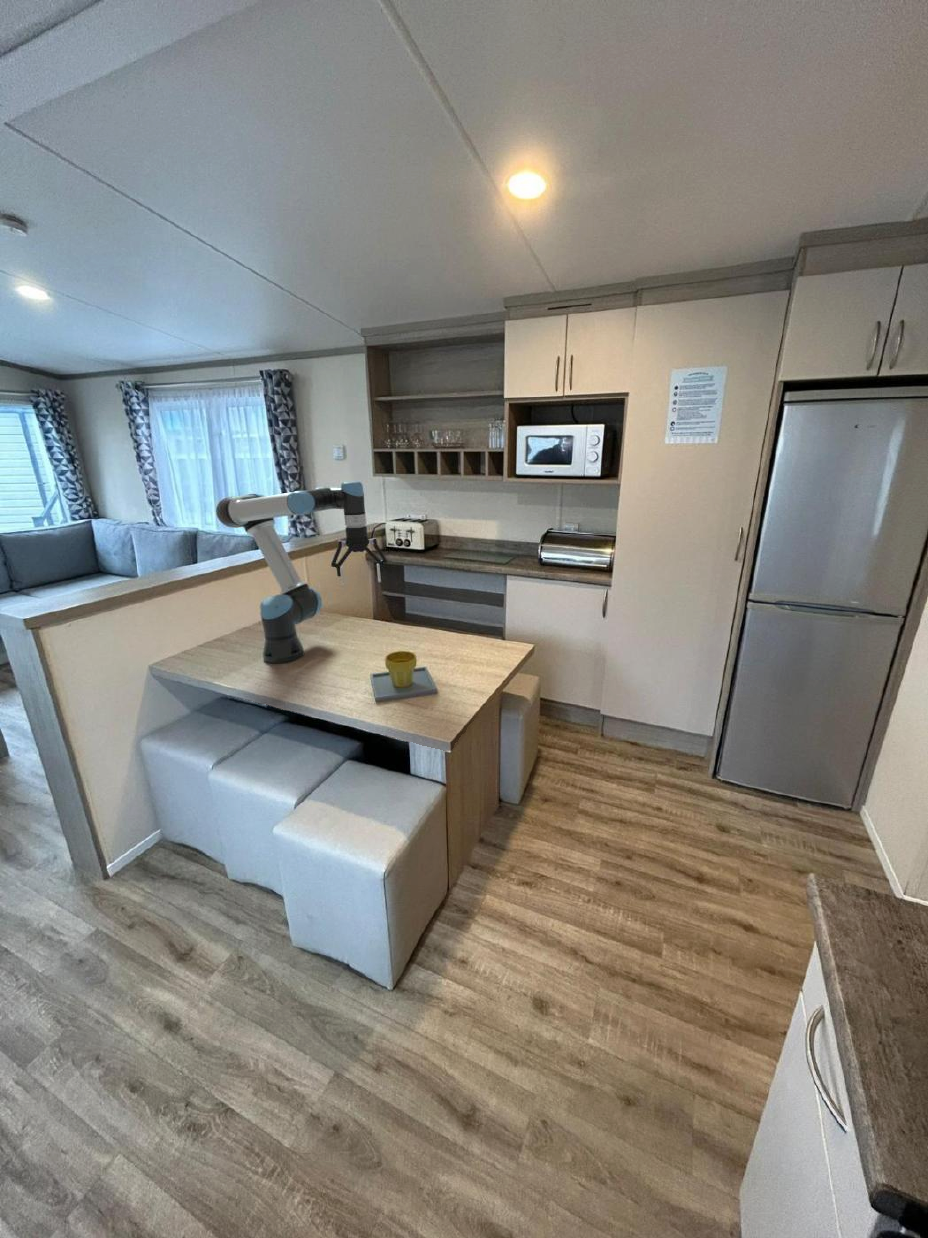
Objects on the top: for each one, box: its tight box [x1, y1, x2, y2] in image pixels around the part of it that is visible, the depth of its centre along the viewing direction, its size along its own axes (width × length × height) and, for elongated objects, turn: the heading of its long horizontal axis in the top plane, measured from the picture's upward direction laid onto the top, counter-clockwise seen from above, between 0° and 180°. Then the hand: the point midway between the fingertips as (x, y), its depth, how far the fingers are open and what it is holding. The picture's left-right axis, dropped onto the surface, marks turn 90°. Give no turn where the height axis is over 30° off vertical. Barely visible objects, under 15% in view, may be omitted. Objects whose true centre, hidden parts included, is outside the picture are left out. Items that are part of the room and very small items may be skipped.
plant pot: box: [384, 650, 417, 687], centre depth 162 cm, size 10×10×10 cm
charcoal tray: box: [369, 666, 438, 704], centre depth 164 cm, size 20×18×2 cm
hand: (361, 583), depth 181 cm, fingers open, 13 cm apart
